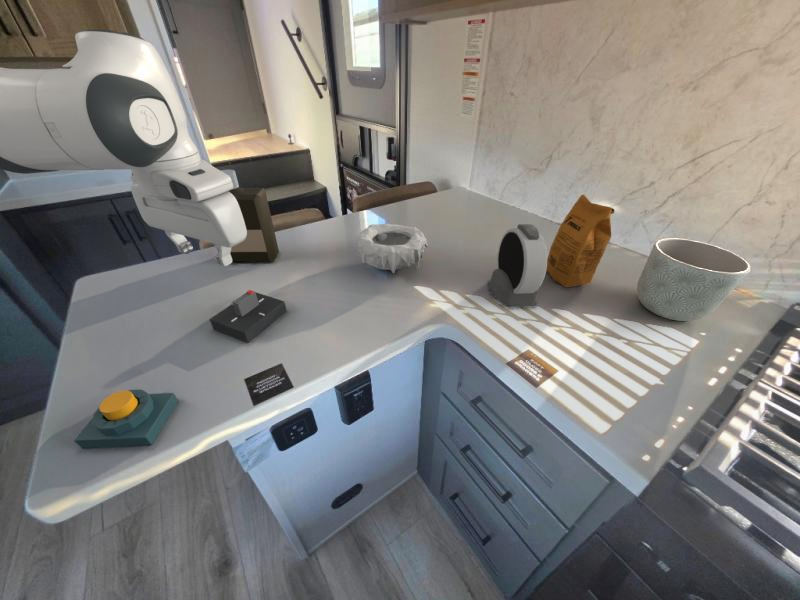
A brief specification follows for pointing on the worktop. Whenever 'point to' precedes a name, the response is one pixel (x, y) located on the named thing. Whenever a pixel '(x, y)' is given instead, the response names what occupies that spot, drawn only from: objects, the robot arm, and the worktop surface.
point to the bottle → (253, 225)
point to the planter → (688, 278)
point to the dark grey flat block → (249, 319)
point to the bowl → (391, 246)
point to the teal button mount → (130, 423)
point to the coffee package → (580, 243)
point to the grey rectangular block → (245, 303)
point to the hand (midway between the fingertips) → (206, 257)
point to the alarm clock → (519, 266)
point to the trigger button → (118, 405)
